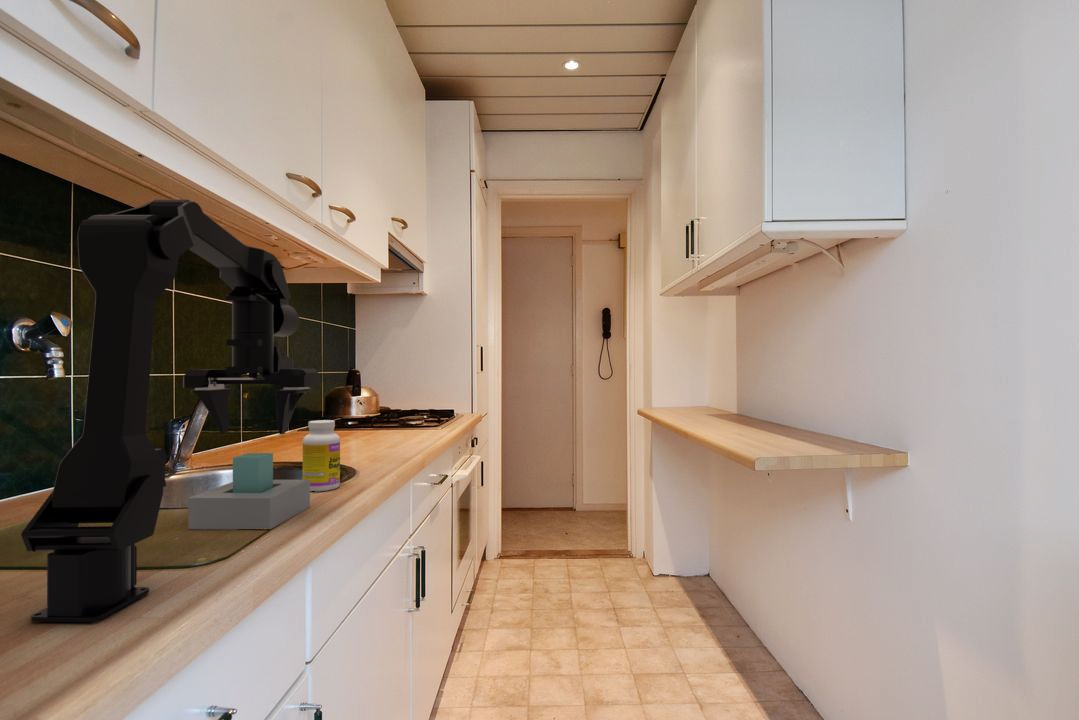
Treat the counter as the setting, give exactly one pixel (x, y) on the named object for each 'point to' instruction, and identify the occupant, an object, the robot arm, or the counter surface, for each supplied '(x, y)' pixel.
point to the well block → (248, 506)
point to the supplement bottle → (321, 456)
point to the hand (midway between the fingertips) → (253, 434)
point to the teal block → (253, 473)
